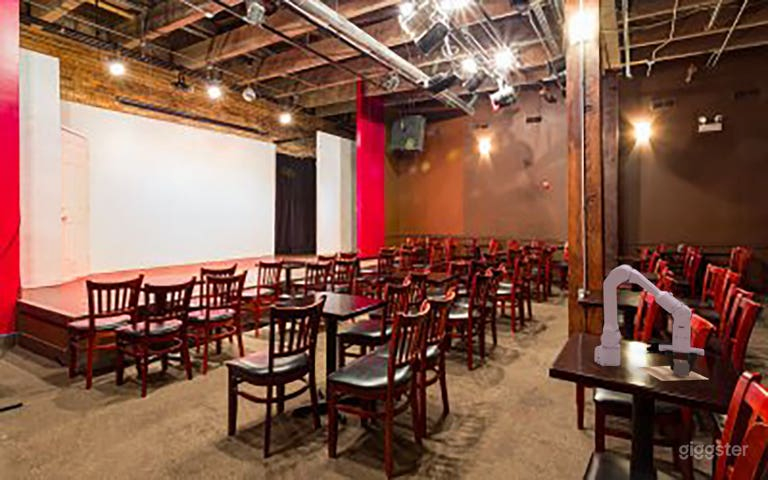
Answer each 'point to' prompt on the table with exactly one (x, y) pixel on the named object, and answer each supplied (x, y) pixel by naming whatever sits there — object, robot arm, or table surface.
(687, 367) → the grey cube
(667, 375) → the board
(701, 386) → the table surface
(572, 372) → the table surface
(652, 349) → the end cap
